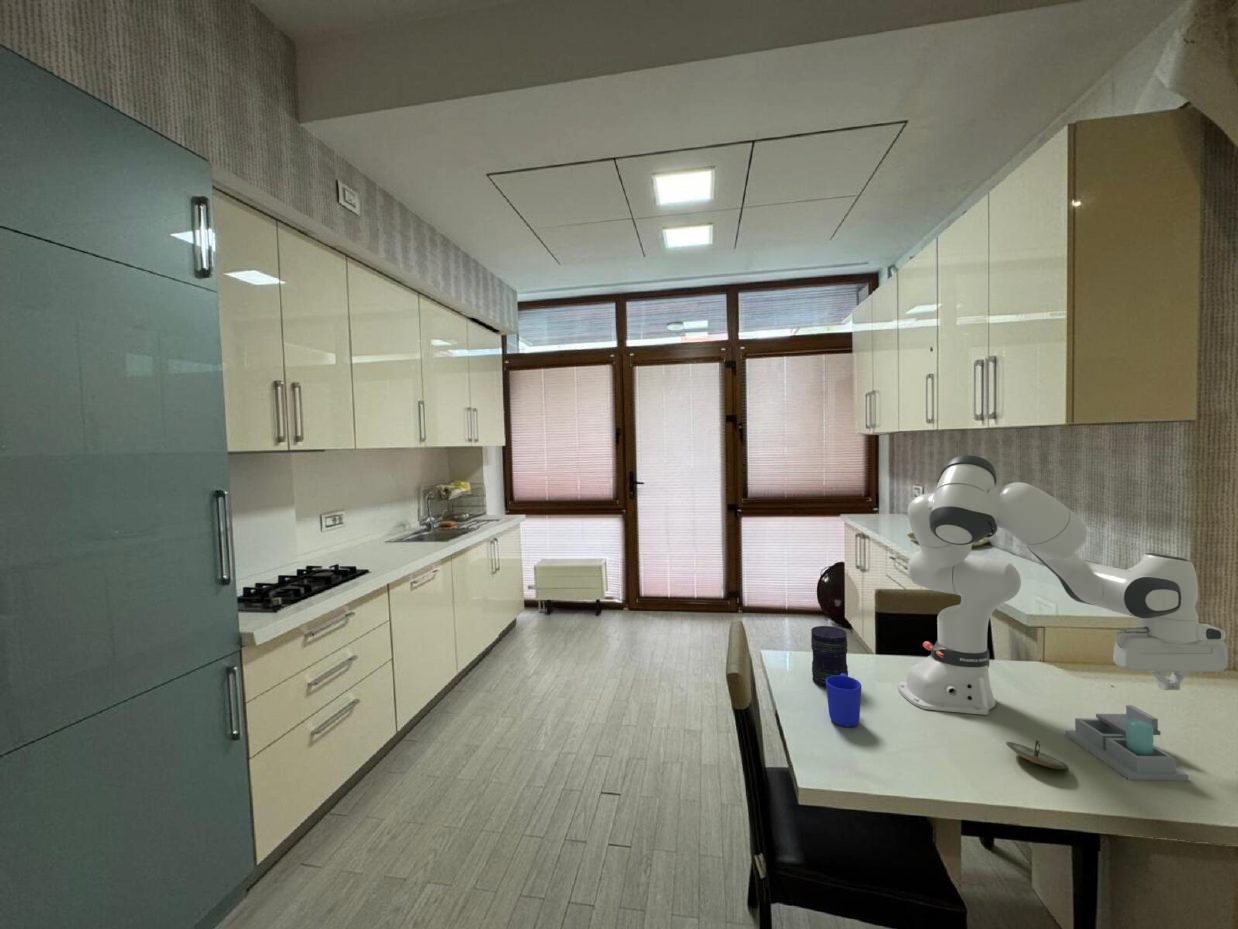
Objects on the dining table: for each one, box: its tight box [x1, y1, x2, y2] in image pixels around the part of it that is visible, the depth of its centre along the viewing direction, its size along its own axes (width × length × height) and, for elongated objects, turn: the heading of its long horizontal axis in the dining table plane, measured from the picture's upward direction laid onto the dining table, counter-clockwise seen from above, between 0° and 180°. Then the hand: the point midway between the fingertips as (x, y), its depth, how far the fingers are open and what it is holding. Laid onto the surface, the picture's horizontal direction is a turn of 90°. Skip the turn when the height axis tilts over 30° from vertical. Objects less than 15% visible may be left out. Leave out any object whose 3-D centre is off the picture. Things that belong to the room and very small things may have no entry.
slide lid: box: [1095, 704, 1161, 736], centre depth 113 cm, size 7×7×3 cm
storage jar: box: [810, 625, 849, 689], centre depth 148 cm, size 10×10×15 cm
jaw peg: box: [1126, 718, 1154, 756], centre depth 105 cm, size 4×4×8 cm
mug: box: [825, 673, 862, 728], centre depth 128 cm, size 8×12×10 cm
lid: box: [1005, 739, 1070, 771], centre depth 107 cm, size 11×10×5 cm
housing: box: [1064, 717, 1189, 782], centre depth 109 cm, size 16×11×4 cm
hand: (1169, 689), depth 111 cm, fingers closed
